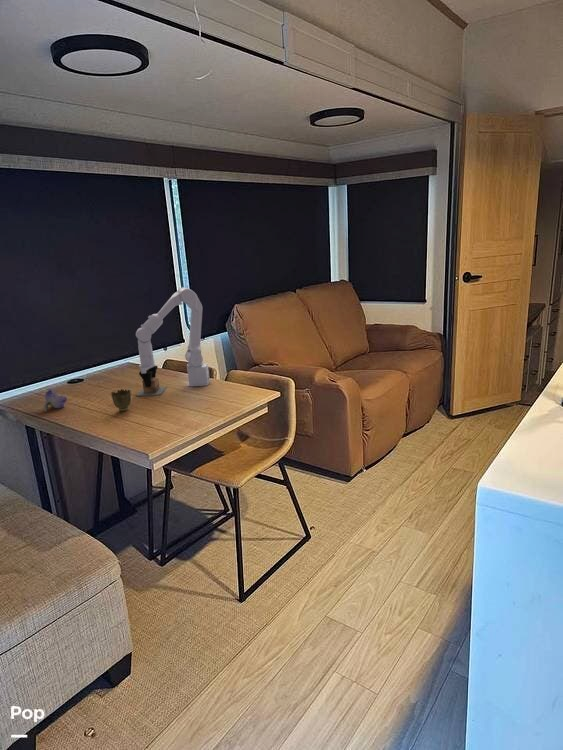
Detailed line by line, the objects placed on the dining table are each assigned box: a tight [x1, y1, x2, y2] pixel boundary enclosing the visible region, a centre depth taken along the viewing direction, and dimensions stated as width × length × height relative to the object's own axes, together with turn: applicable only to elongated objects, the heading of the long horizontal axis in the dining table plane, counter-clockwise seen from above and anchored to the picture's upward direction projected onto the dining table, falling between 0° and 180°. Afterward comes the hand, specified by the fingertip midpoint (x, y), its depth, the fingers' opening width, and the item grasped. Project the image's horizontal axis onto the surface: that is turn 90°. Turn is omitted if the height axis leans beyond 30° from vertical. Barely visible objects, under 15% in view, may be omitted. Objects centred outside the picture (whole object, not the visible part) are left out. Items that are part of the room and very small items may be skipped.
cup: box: [110, 388, 132, 413], centre depth 192 cm, size 8×7×8 cm
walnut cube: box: [142, 376, 160, 393], centre depth 214 cm, size 6×6×6 cm
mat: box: [135, 386, 168, 397], centre depth 215 cm, size 11×11×1 cm
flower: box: [43, 388, 68, 413], centre depth 200 cm, size 9×9×10 cm
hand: (150, 384), depth 214 cm, fingers open, 6 cm apart
